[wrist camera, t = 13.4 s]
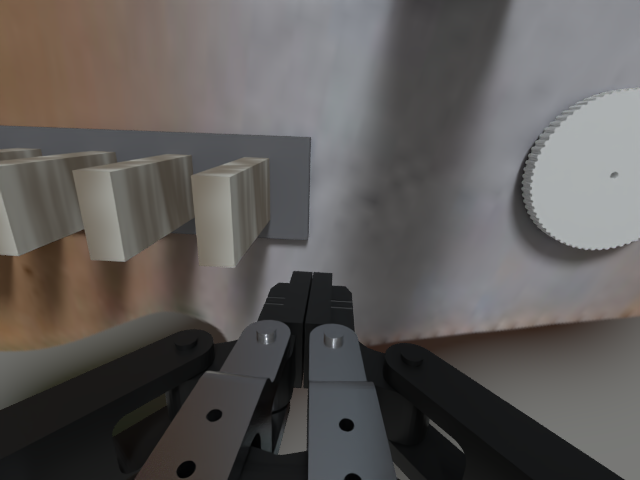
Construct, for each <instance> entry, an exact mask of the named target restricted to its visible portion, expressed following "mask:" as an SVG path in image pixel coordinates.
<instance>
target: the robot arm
mask: <svg viewBox="0 0 640 480" xmlns="http://www.w3.org/2000/svg"><path fill="white" fill-rule="evenodd" d="M303 373H304V388H308V409H307V451H304V452H298V453H292V454H286V455H278V452H279V448H280V445H281V441H282V437H283V433H284V429H285V426H286V422H287V418H288V415H289V411H290V399H291V397H292V393H293V388H301V386H302V380H303ZM163 393H165V394H166V401H167V406H165V407H163V408H162V409H160V410H158V411H156V412H155V413H153V414H151V415H150V416H148V417H146V418H144V419H143V420H141V421H140V422H138V423H136V424H134V425H133V426H131V427H129V428H128V429H126V430H124V431H122V432H121V433H119V434H117V435H116V436H114V437H112V431H113V428H114V426H115V425H116V423H117V422H118V421H119V420H120V419H121V418H122V417H123V416H125V415H126V414H128V413H130V412H132V411H133V410H135V409H137V408H139V407H141V406H142V405H144V404H146V403H148V402H149V401H151V400H153V399H155V398H157V397H158V396H160V395H162V394H163ZM429 419H431V420H432V421H433V422H435V423H436V424H437V425H438V426H439V427H440V428H442V429H443V430H444V431H445V432H446V433H448V434H449V435H450V436H451V437H452V438H453V439H455V440H456V441H457V443H458V444H459V445H460V446H461V448H462V449H463V451H464V453H463V452H462V451H460V450H459V449H458V448H457V447H456V446H455V445H453V444H452V443H451V442H450V441H449V440H448V439H446V438H445V437H444V436H443V435H442V434H440V432H438V431H437V430H436V429H435V428H434V427H433V426H431V425H430V424H429ZM393 462H394V463H395V464H396V465H397V466H398V467H399V468H400V469H401V470H402V472H403V473H404V474H405V475H406V476H407V477H408V478H409V479H410V480H624V479H622V478H621V477H620V476H618V475H617V474H615V473H614V472H612V471H611V470H609V469H608V468H606V467H605V466H603V465H602V464H600V463H599V462H597V461H595V460H594V459H592V458H591V457H589V456H588V455H586V454H585V453H583V452H582V451H580V450H579V449H577V448H576V447H574V446H573V445H571V444H570V443H568V442H567V441H565V440H564V439H562V438H561V437H559V436H558V435H556V434H555V433H553V432H551V431H550V430H548V429H547V428H545V427H544V426H542V425H541V424H539V423H538V422H536V421H535V420H533V419H532V418H530V417H529V416H527V415H526V414H524V413H523V412H521V411H520V410H518V409H516V408H515V407H514V406H512V405H510V404H509V403H508V402H506V401H504V400H503V399H501V398H500V397H498V396H497V395H495V394H494V393H492V392H491V391H489V390H488V389H486V388H485V387H483V386H482V385H480V384H479V383H477V382H476V381H474V380H472V379H471V378H470V377H468V376H467V375H465V374H463V373H462V372H460V371H459V370H457V369H456V368H454V367H453V366H451V365H450V364H448V363H447V362H445V361H444V360H442V359H441V358H439V357H438V356H436V355H435V354H433V353H432V352H430V351H428V350H427V349H425V348H423V347H421V346H418V345H415V344H409V343H399V344H395V345H392V346H391V347H389V348H388V349H387V350H386V353H381V352H377V351H374V350H372V349H369V348H367V347H366V346H364V345H363V344H361V343H360V342H359V341H358V337H357V335H356V333H355V331H354V317H353V304H352V293H351V292H350V291H349V290H348V289H347V287H346V286H332V273H320V272H314V273H313V279H312V272H301V271H293V274H292V277H291V280H290V283H278V284H277V285H275V286H274V287H273V288H271V289H270V292H269V294H268V298H267V299H266V302H265V304H264V306H263V309H262V311H261V314H260V316H259V318H258V321H257V322H255V323H252V324H250V325H249V326H247V327H246V328H245V329H244V331H243V332H242V334H241V336H240V337H239V339H238V340H235V341H231V342H224V343H218V344H214V343H213V337H212V336H211V334H209V333H208V332H206V331H203V330H196V329H193V330H184V331H180V332H177V333H175V334H172V335H170V336H168V337H166V338H164V339H161V340H159V341H156V342H154V343H152V344H150V345H147V346H146V347H143V348H141V349H138V350H136V351H134V352H132V353H129V354H127V355H125V356H122V357H120V358H118V359H116V360H114V361H111V362H109V363H107V364H104V365H102V366H100V367H97V368H95V369H93V370H91V371H88V372H86V373H84V374H82V375H79V376H77V377H75V378H72V379H70V380H68V381H66V382H64V383H62V384H59V385H57V386H54V387H52V388H50V389H48V390H45V391H43V392H41V393H39V394H36V395H34V396H32V397H30V398H27V399H25V400H23V401H20V402H18V403H16V404H13V405H11V406H9V407H7V408H4V409H2V410H0V480H400V479H398V478H397V477H396V473H395V469H394V465H393Z"/></svg>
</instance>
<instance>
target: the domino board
mask: <svg viewBox="0 0 640 480" xmlns="http://www.w3.org/2000/svg"><path fill="white" fill-rule="evenodd" d="M10 148H30V149H41V152H42V156H49V155H59V154H68V153H77V152H87V151H104V152H115V153H116V159H117V163H118V162H124V161H130V160H135V159H141V158H147V157H153V156H159V155H164V154H178V155H192V165H193V175H194V174H197V173H200V172H203V171H206V170H208V169H211V168H214V167H217V166H220V165H223V164H226V163H229V162H232V161H235V160H238V159H240V158H243V157H252V158H269V167H270V220H269V222H268V223H267V225H266V226H265V227H264V229H263V230H262V231H261V233H260V234H259V235H258V238H278V239H297V240H308V234H309V192H310V149H311V137H291V136H265V135H238V134H212V133H185V132H158V131H132V130H105V129H79V128H52V127H25V126H0V149H10ZM171 233H180V234H196V225H195V217H194V218H193V219H191V220H190V221H188V222H187V223H185V224H183V225H182V226H180V227H179V228H177V229H176V230H174V231H173V232H171Z"/></svg>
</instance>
